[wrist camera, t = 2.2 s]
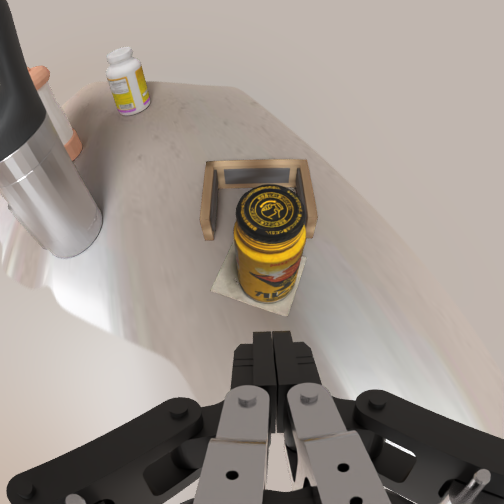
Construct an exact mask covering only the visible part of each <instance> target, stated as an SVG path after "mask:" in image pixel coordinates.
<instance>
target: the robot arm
mask: <svg viewBox="0 0 504 504" xmlns="http://www.w3.org/2000/svg"><path fill="white" fill-rule="evenodd" d="M0 193H1V195H2V196H3V197H4V199H5V200H6V201H7V202H8V209H9V210H10V212H11V213H12V214H13V215H14V216H15V217H16V219H17V220H18V221H19V222H20V223H21V224H22V226H23V227H24V228H25V229H26V230H27V231H28V232H29V233H30V235H31V236H32V237H33V238H34V239H35V240H36V241H37V242H38V243H39V244H40V245H41V246H42V248H43V249H48V250H49V251H50V252H51V253H52V254H53V255H55V256H56V257H60V258H69V257H73V256H75V255H78V254H80V253H81V252H83V251H84V250H85V249H86V248H88V247H89V246H90V245H91V244H92V242H93V241H94V240H95V239H96V237H97V235H98V233H99V231H100V228H101V225H102V214H101V211H100V209H99V208H98V206H97V204H96V203H95V201H94V199H93V197H92V196H91V194H90V192H89V190H88V189H87V187H86V185H85V183H84V182H83V180H82V178H81V176H80V175H79V173H78V171H77V169H76V167H75V166H74V164H73V162H72V160H71V158H70V156H69V154H68V153H67V151H66V149H65V147H64V145H63V143H62V141H61V139H60V137H59V135H58V133H57V131H56V129H55V127H54V125H53V123H52V121H51V119H50V117H49V115H48V113H47V111H46V109H45V107H44V104H43V102H42V100H41V98H40V96H39V94H38V92H37V90H36V88H35V86H34V83H33V81H32V79H31V76H30V74H29V71H28V69H27V66H26V63H25V60H24V57H23V53H22V50H21V47H20V43H19V40H18V36H17V33H16V29H15V25H14V22H13V18H12V14H11V11H10V8H9V6H8V3H7V1H6V0H0ZM275 425H277V433H284V439H285V440H284V452H285V457H286V461H287V466H288V471H289V475H290V480H291V485H292V491H291V492H279V491H272V490H266V489H267V473H268V455H269V446H270V444H271V433H275ZM386 439H387V440H389V441H391V442H393V443H395V444H397V445H399V446H401V447H403V448H405V449H408V450H410V451H411V452H413V453H414V454H415V456H416V457H414V456H412V455H410V454H408V453H406V452H404V451H402V450H400V449H398V448H396V447H394V446H392V445H390V444H388V443H386V442H385V441H386ZM199 477H200V479H199V483H198V487H197V490H196V494H195V498H193V499H190V500H187V501H185V502H183V503H180V504H415V503H413V502H416V503H417V504H504V439H501V438H499V437H496V436H493V435H490V434H488V433H485V432H482V431H479V430H477V429H474V428H472V427H469V426H466V425H464V424H461V423H459V422H456V421H454V420H451V419H449V418H446V417H444V416H442V415H439V414H437V413H434V412H432V411H430V410H427V409H425V408H423V407H420V406H418V405H416V404H413V403H411V402H409V401H407V400H404V399H402V398H400V397H398V396H395V395H393V394H391V393H389V392H386V391H383V390H368V391H365V392H363V393H361V394H360V395H359V396H358V397H357V399H356V401H354V400H344V399H339V398H335V397H333V396H331V394H330V392H329V390H328V389H327V388H325V387H324V386H322V384H321V380H320V377H319V374H318V371H317V367H316V364H315V361H314V358H313V355H312V351H311V348H310V347H309V346H307V345H306V344H305V343H304V342H293V341H292V337H291V332H290V331H272V337H271V332H253V344H240V345H239V346H238V347H237V348H236V350H235V351H234V360H233V370H232V380H231V390H230V391H229V392H228V393H227V395H226V397H225V400H223V401H222V402H220V403H218V404H215V405H211V406H206V407H200V405H199V404H198V403H197V402H196V401H194V400H192V399H189V398H182V397H178V398H172V399H169V400H167V401H165V402H163V403H161V404H160V405H158V406H156V407H154V408H153V409H151V410H149V411H147V412H146V413H144V414H142V415H140V416H139V417H137V418H135V419H133V420H131V421H129V422H128V423H125V424H124V425H122V426H120V427H118V428H116V429H114V430H112V431H110V432H109V433H107V434H105V435H103V436H101V437H99V438H97V439H95V440H93V441H91V442H89V443H87V444H85V445H83V446H81V447H78V448H76V449H74V450H72V451H70V452H68V453H66V454H64V455H62V456H59V457H57V458H55V459H53V460H50V461H48V462H46V463H44V464H41V465H39V466H37V467H34V468H32V469H30V470H27V471H25V472H22V473H20V474H18V475H16V476H14V477H13V478H12V479H11V480H10V481H9V483H8V485H7V497H8V499H9V501H10V502H11V504H163V503H164V502H166V501H167V500H169V499H170V498H172V497H173V496H175V495H176V494H177V493H179V492H180V491H182V490H183V489H184V488H186V487H187V486H189V485H190V484H191V483H193V482H194V481H195V480H197V479H198V478H199ZM383 486H385V487H386V488H388V489H390V490H392V491H394V492H392V491H390V490H388V489H384V487H383ZM395 492H396V493H398V494H400V495H401V496H400V495H398V494H396V493H395ZM402 496H403V497H402ZM404 497H405V498H408V499H409V500H411V501H413V502H411V501H409V500H407V499H405V498H404Z"/></svg>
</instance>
